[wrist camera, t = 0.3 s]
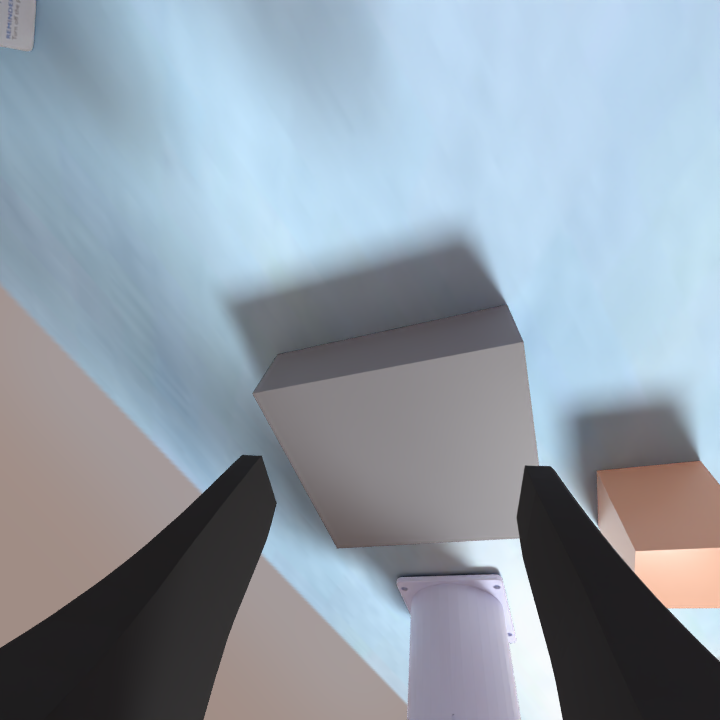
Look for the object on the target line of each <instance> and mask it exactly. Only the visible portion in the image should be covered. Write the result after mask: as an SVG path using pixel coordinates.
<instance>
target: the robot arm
mask: <svg viewBox="0 0 720 720" xmlns="http://www.w3.org/2000/svg"><path fill="white" fill-rule="evenodd" d="M276 504H277V503H276V500H275V496H274V493H273V490H272V487H271V484H270V481H269V478H268V474H267V471H266V468H265V465H264V462H263V459H262V456H252V455H242V456H241V457H240V458H239V459H238V460H236V461H235V462H234V463H233V464H232V465H231V466H230V467H229V468H228V469H227V470H226V471H225V472H224V473H223V474H222V475H221V476H220V477H219V478H218V479H217V480H216V481H215V482H214V483H213V484H212V485H211V486H210V487H209V488H208V489H207V490H206V491H205V492H204V493H203V494H202V495H200V496H199V498H197V499H196V500H195V501H194V502H193V503H192V504H191V505H190V506H189V507H188V508H187V509H186V510H185V511H184V512H183V513H181V515H179V516H178V517H177V518H176V519H175V520H174V521H173V522H171V523H170V524H169V525H168V526H167V527H166V528H165V529H163V530H162V531H161V532H160V533H159V534H158V535H157V536H156V537H154V538H153V539H152V540H151V541H150V542H149V543H148V544H147V545H145V546H144V547H143V548H142V549H140V550H139V551H138V552H137V553H136V554H134V555H133V556H132V557H131V558H130V559H128V560H127V561H126V562H124V563H123V564H122V565H121V566H119V567H118V568H117V569H115V570H114V571H113V572H112V573H110V574H109V575H108V576H106V577H105V578H104V579H102V580H101V581H100V582H98V583H97V584H96V585H94V586H93V587H91V588H90V589H88V590H87V591H86V592H84V593H83V594H81V595H80V596H78V597H77V598H76V599H74V600H73V601H71V602H70V603H68V604H67V605H66V606H64V607H63V608H61V609H60V610H58V611H57V612H56V613H54V614H53V615H51V616H50V617H48V618H47V619H45V620H44V621H42V622H41V623H39V624H38V625H36V626H34V627H33V628H31V629H30V630H28V631H27V632H25V633H23V634H22V635H20V636H19V637H17V638H15V639H14V640H12V641H11V642H9V643H7V644H6V645H4V646H3V647H1V648H0V720H203V719H204V716H205V712H206V709H207V705H208V702H209V698H210V695H211V691H212V688H213V684H214V681H215V677H216V674H217V671H218V668H219V665H220V661H221V658H222V655H223V651H224V648H225V645H226V641H227V639H228V636H229V633H230V630H231V628H232V625H233V622H234V619H235V617H236V614H237V612H238V609H239V607H240V604H241V602H242V599H243V597H244V595H245V592H246V590H247V587H248V585H249V582H250V579H251V577H252V575H253V573H254V570H255V567H256V565H257V563H258V560H259V557H260V555H261V553H262V550H263V548H264V545H265V542H266V540H267V537H268V533H269V530H270V526H271V523H272V519H273V515H274V511H275V507H276ZM516 518H517V524H518V531H519V537H520V544H521V549H522V555H523V560H524V564H525V568H526V571H527V575H528V579H529V582H530V586H531V590H532V594H533V597H534V601H535V604H536V608H537V612H538V615H539V619H540V623H541V626H542V630H543V634H544V637H545V641H546V644H547V648H548V652H549V655H550V659H551V664H552V668H553V672H554V676H555V681H556V686H557V691H558V696H559V702H560V707H561V712H562V718H563V720H720V661H719V660H718V659H717V658H716V657H715V656H713V655H712V654H711V653H710V652H709V651H708V650H707V649H706V648H705V647H704V646H703V645H702V644H701V643H700V642H699V641H698V640H697V639H696V638H695V637H694V636H693V635H692V634H691V633H690V632H689V631H688V630H687V629H686V628H685V627H684V626H683V625H682V624H681V623H680V622H679V620H678V619H677V618H676V617H675V616H674V615H673V614H672V613H671V612H670V611H669V610H668V609H667V608H666V607H665V606H664V605H663V604H662V603H661V601H660V600H659V599H658V598H657V597H656V596H655V595H654V594H653V593H652V592H651V591H650V589H649V588H648V587H647V586H646V585H645V584H644V583H643V582H642V580H641V579H640V578H639V577H638V576H637V575H636V574H635V573H634V571H633V570H632V569H631V568H630V567H629V566H628V565H627V563H626V562H625V561H624V560H623V559H622V558H621V556H620V555H619V554H618V553H617V552H616V550H615V549H614V548H613V547H612V545H611V544H610V543H609V542H608V541H607V539H606V538H605V537H604V536H603V534H602V533H601V532H600V531H599V530H598V528H597V527H596V526H595V525H594V523H593V522H592V521H591V519H590V518H589V517H588V516H587V514H586V513H585V512H584V510H583V509H582V508H581V506H580V505H579V504H578V502H577V501H576V500H575V498H574V497H573V496H572V494H571V493H570V492H569V490H568V489H567V487H566V486H565V485H564V483H563V482H562V480H561V479H560V477H559V476H558V475H557V473H556V472H555V470H554V469H553V468H552V467H551V466H526V465H525V468H524V474H523V480H522V486H521V492H520V498H519V505H518V511H517V517H516ZM397 587H398V589H399V591H400V593H401V595H402V597H403V600H404V602H405V604H406V606H407V608H408V610H409V613H410V615H411V622H410V653H409V683H408V713H407V716H408V717H407V720H521V717H520V710H519V704H518V698H517V691H516V685H515V678H514V672H513V666H512V659H511V653H510V647H509V643H515V642H516V635H515V630H514V626H513V622H512V618H511V613H510V609H509V605H508V601H507V596H506V592H505V588H504V584H503V579H502V577H501V576H499V575H497V574H488V575H455V576H422V577H399V578H398V579H397Z"/></svg>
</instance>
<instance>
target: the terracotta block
mask: <svg viewBox="0 0 720 720" xmlns="http://www.w3.org/2000/svg"><path fill="white" fill-rule="evenodd" d="M597 504H598V527H599V529H600V531H601V533H602V534H603V536H604V537H605V538H606V539H607V541H608V542H609V543H610V544H611V545H612V547H613V548H614V549H615V550H616V552H617V553H618V554H619V555H620V556H621V558H622V559H623V560H624V561H625V562H626V563H627V565H628V566H629V567H630V568H631V569H632V570H633V571H634V573H635V574H636V575H637V576H638V577H639V578H640V579H641V580H642V582H643V583H644V584H645V585H646V586H647V587H648V588H649V589H650V591H651V592H652V593H653V594H654V595H655V596H656V597H657V598H658V599H659V600H660V601H661V603H662V604H663V605H664V606H665V607H666V608H720V485H719V483H718V482H717V481H716V480H715V478H714V477H713V476H712V475H711V473H710V472H709V471H708V470H707V468H706V467H705V466H704V465H703V463H702V462H701V461H692V462H682V463H671V464H661V465H651V466H640V467H630V468H619V469H609V470H599V471H597Z"/></svg>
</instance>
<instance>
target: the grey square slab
mask: <svg viewBox="0 0 720 720" xmlns="http://www.w3.org/2000/svg"><path fill="white" fill-rule="evenodd" d="M252 394H253V396H254V397H255V399H256V401H257V403H258V405H259V406H260V408H261V410H262V412H263V414H264V416H265V417H266V419H267V421H268V423H269V425H270V427H271V428H272V430H273V432H274V434H275V436H276V437H277V439H278V441H279V443H280V445H281V447H282V448H283V450H284V452H285V454H286V456H287V458H288V459H289V461H290V463H291V465H292V467H293V468H294V470H295V472H296V474H297V476H298V478H299V479H300V481H301V483H302V485H303V487H304V489H305V490H306V492H307V494H308V496H309V498H310V499H311V501H312V503H313V505H314V507H315V509H316V510H317V512H318V514H319V516H320V518H321V520H322V521H323V523H324V525H325V527H326V529H327V530H328V532H329V534H330V536H331V538H332V540H333V541H334V543H335V545H336V547H337V548H353V547H371V546H389V545H407V544H425V543H443V542H461V541H479V540H497V539H515V538H520V537H519V531H518V524H517V518H516V517H517V511H518V505H519V498H520V492H521V486H522V480H523V474H524V468H525V465H526V466H539V461H538V453H537V445H536V437H535V429H534V422H533V414H532V406H531V398H530V390H529V382H528V374H527V366H526V358H525V350H524V343H523V340H522V338H521V335H520V333H519V331H518V328H517V326H516V324H515V322H514V319H513V317H512V315H511V313H510V310H509V308H508V306H507V305H502V306H497V307H493V308H488V309H484V310H479V311H475V312H470V313H465V314H461V315H456V316H452V317H447V318H443V319H438V320H433V321H429V322H424V323H420V324H415V325H410V326H406V327H401V328H397V329H392V330H388V331H383V332H378V333H374V334H369V335H365V336H360V337H356V338H351V339H346V340H342V341H337V342H333V343H328V344H323V345H319V346H314V347H310V348H305V349H301V350H296V351H291V352H287V353H282V354H278V355H277V356H276V358H275V359H274V361H273V362H272V364H271V365H270V367H269V368H268V370H267V372H266V373H265V375H264V376H263V378H262V379H261V381H260V383H259V384H258V386H257V387H256V389H255V390H254V392H253V393H252Z"/></svg>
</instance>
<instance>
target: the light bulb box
mask: <svg viewBox="0 0 720 720" xmlns="http://www.w3.org/2000/svg"><path fill="white" fill-rule="evenodd" d="M35 15H36V0H0V47H6V48H12V49H17V50H22V51H31V50H32V49H33V44H34V32H35Z"/></svg>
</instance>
